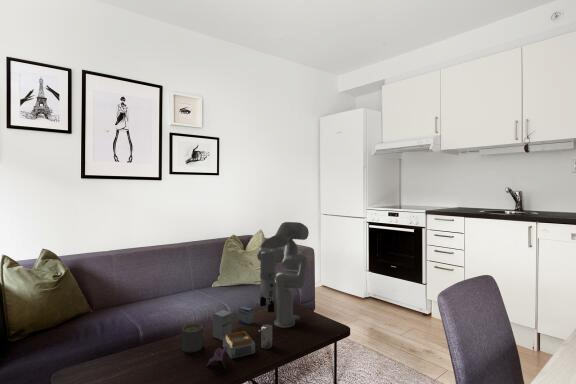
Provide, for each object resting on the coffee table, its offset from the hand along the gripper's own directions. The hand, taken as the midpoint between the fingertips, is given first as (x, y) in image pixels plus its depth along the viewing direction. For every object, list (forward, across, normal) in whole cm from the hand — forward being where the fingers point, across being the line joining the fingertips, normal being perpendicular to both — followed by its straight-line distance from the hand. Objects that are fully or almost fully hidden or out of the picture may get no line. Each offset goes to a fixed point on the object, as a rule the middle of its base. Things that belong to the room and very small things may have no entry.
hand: (266, 308), depth 167 cm
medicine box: (+19, +34, -2) cm, 39 cm away
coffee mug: (+20, +18, +33) cm, 43 cm away
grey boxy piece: (+19, +4, +13) cm, 24 cm away
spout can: (+19, +1, 0) cm, 19 cm away
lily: (+20, -6, +26) cm, 34 cm away
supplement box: (+20, +22, +16) cm, 33 cm away
